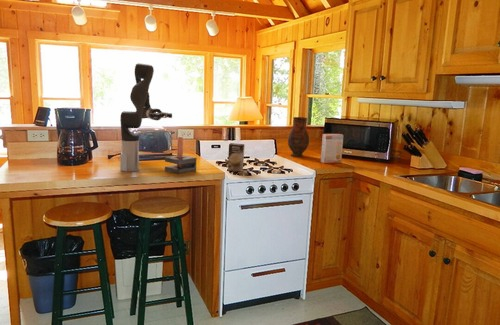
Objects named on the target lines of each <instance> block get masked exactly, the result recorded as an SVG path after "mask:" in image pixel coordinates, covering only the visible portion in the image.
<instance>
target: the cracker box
mask: <svg viewBox="0 0 500 325" xmlns="http://www.w3.org/2000/svg"><path fill="white" fill-rule="evenodd" d="M321 140H322V141H321V150H320V151H321V153H320V163H322V164H342V156H343V145H344V134H341V133H323V134H322V139H321Z"/></svg>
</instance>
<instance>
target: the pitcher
mask: <svg viewBox="0 0 500 325" xmlns="http://www.w3.org/2000/svg"><path fill="white" fill-rule="evenodd" d="M292 118H293V119H292V120H293V121H292V128H291V131H290V133H289V134H288V138H287V145H288V146H287V147H288V148H289V150H290V151H291V152H292V154H290V157H293V158H304V157H305V156H304V154H303V153H304V152H306V150H307V148H308V147H309V146H310V136H309V134H308V131H307V121H308V118H307V117H304V116H301V117H298V116H294V117H292Z"/></svg>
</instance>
